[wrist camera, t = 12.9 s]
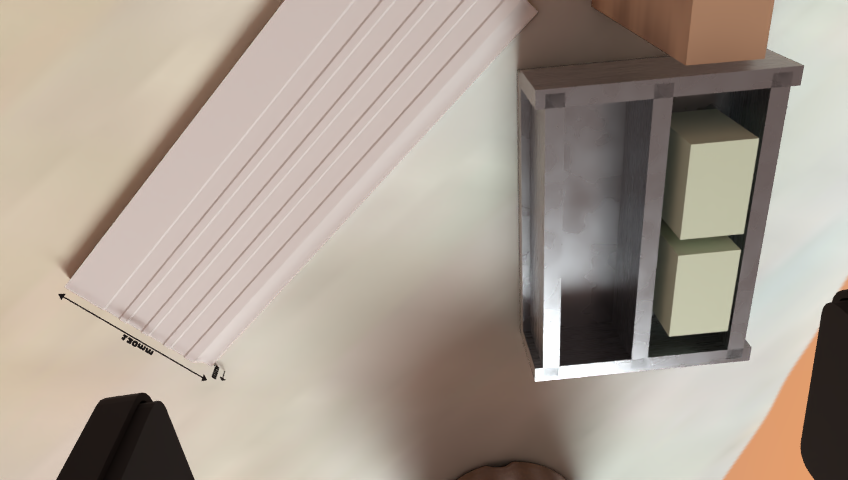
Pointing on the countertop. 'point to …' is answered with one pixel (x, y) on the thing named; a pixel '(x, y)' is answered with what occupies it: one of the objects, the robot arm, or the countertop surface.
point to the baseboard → (285, 160)
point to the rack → (626, 206)
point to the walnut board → (697, 27)
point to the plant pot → (513, 473)
